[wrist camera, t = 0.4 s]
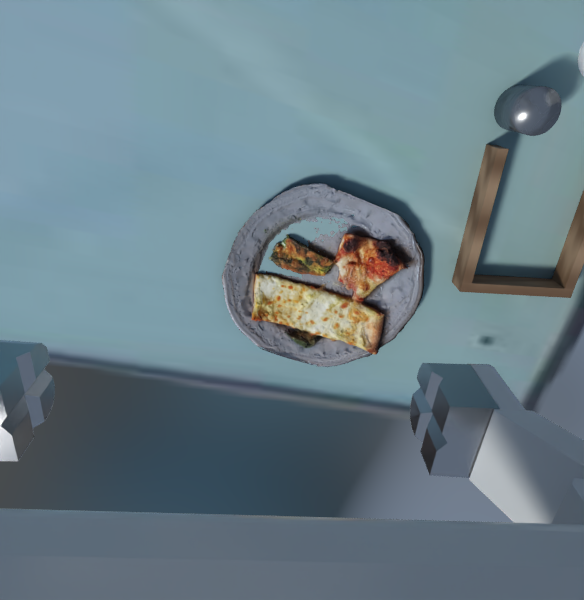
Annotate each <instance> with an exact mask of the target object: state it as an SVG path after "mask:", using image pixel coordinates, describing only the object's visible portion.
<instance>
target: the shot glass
mask: <svg viewBox="0 0 584 600" xmlns="http://www.w3.org/2000/svg"><path fill="white" fill-rule="evenodd" d="M578 65H579V71H580V72H581V74H582V75H583V76H584V42H583V44H582V46H581V48H580V51H579V56H578Z"/></svg>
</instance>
